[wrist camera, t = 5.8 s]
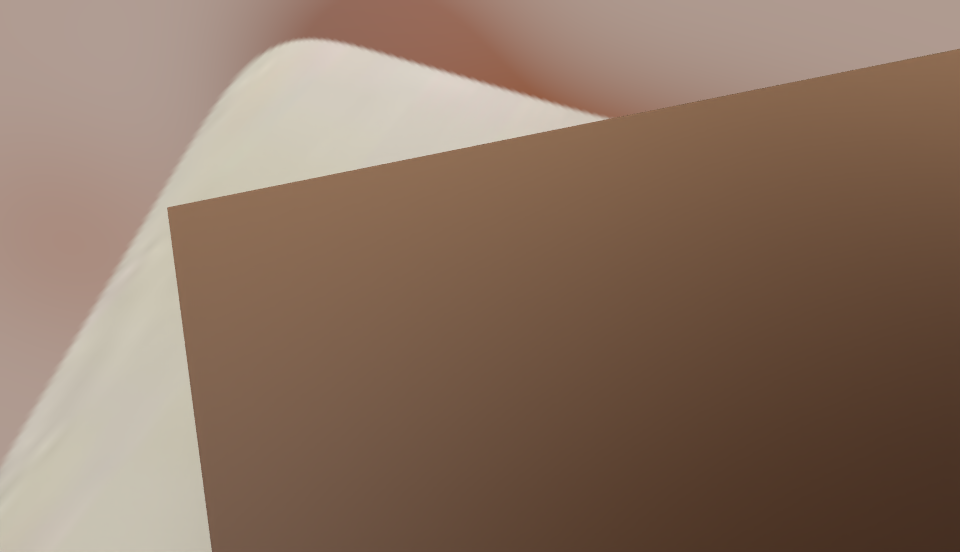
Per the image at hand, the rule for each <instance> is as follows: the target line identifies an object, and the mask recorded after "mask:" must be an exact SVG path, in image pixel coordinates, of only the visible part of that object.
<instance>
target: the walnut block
mask: <svg viewBox="0 0 960 552" xmlns="http://www.w3.org/2000/svg"><path fill="white" fill-rule="evenodd" d="M167 209H168V217H169V224H170V232H171V240H172V247H173V255H174V263H175V270H176V278H177V286H178V293H179V301H180V309H181V316H182V324H183V332H184V339H185V347H186V355H187V363H188V370H189V378H190V386H191V393H192V401H193V409H194V416H195V424H196V432H197V439H198V447H199V455H200V462H201V470H202V478H203V485H204V493H205V501H206V508H207V516H208V524H209V531H210V539H211V547H212V552H960V49H957V50H952V51H947V52H942V53H937V54H932V55H927V56H922V57H917V58H912V59H907V60H902V61H897V62H892V63H887V64H882V65H877V66H872V67H867V68H862V69H857V70H852V71H847V72H842V73H837V74H832V75H827V76H822V77H817V78H812V79H807V80H802V81H797V82H792V83H787V84H782V85H777V86H772V87H767V88H762V89H757V90H752V91H748V92H742V93H737V94H732V95H727V96H722V97H717V98H712V99H707V100H702V101H697V102H692V103H687V104H683V105H677V106H672V107H667V108H662V109H657V110H652V111H648V112H642V113H637V114H632V115H627V116H622V117H617V118H612V119H607V120H602V121H597V122H592V123H587V124H582V125H577V126H572V127H567V128H562V129H557V130H552V131H547V132H542V133H537V134H532V135H527V136H522V137H517V138H512V139H507V140H502V141H497V142H492V143H487V144H482V145H477V146H472V147H467V148H462V149H457V150H452V151H447V152H442V153H437V154H432V155H427V156H422V157H417V158H412V159H407V160H402V161H397V162H392V163H387V164H382V165H377V166H372V167H368V168H363V169H358V170H353V171H348V172H343V173H338V174H333V175H328V176H323V177H318V178H313V179H308V180H303V181H298V182H293V183H288V184H283V185H278V186H273V187H268V188H263V189H258V190H253V191H248V192H243V193H238V194H233V195H228V196H223V197H218V198H213V199H208V200H203V201H198V202H193V203H188V204H183V205H178V206H173V207H168V208H167Z"/></svg>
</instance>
